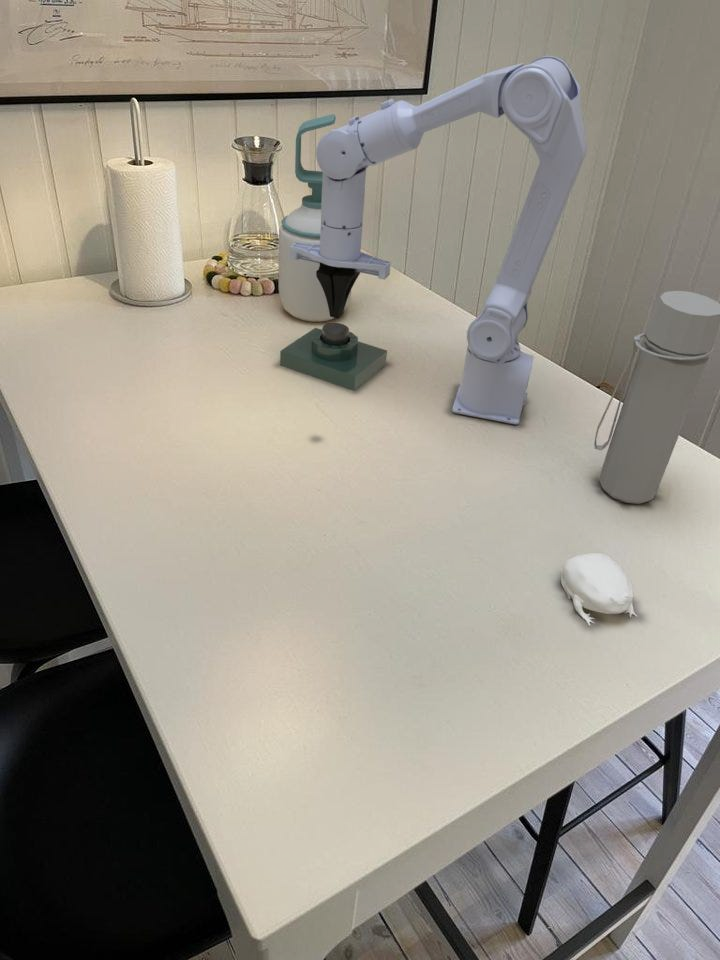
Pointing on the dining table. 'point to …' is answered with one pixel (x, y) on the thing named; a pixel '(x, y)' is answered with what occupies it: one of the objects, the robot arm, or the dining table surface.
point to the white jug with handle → (304, 226)
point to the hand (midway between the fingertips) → (336, 315)
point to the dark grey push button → (335, 334)
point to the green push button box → (334, 359)
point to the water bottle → (658, 394)
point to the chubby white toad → (597, 585)
